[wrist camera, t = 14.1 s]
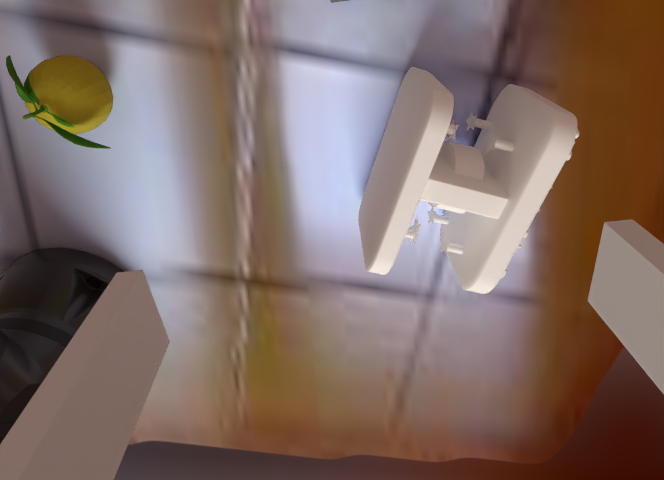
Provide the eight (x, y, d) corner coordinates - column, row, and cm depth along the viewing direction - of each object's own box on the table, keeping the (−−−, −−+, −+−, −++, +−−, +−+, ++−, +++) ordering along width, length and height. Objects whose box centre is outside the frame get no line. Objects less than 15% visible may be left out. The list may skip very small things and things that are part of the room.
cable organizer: (408, 49, 37) (440, 78, 27) (526, 85, 39) (597, 125, 29) (354, 210, 45) (364, 280, 34) (455, 235, 46) (493, 309, 36)
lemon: (141, 122, 40) (91, 164, 31) (74, 128, 40) (6, 172, 31) (116, 38, 36) (52, 58, 28) (43, 45, 37) (-43, 68, 28)
